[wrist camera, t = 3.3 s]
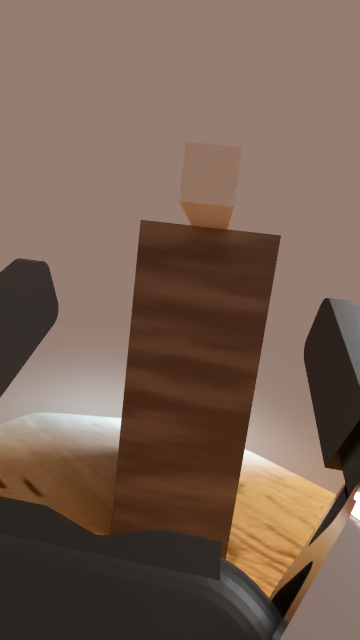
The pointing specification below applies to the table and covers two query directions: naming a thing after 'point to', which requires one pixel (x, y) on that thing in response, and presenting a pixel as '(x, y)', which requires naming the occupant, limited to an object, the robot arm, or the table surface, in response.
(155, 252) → the dark wooden plinth
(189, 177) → the off-white bar
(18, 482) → the table surface
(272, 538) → the table surface
